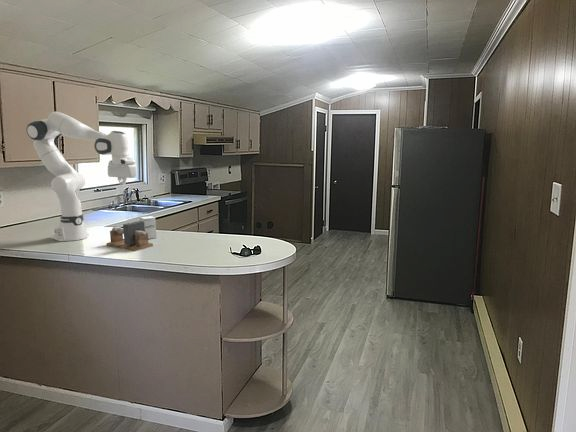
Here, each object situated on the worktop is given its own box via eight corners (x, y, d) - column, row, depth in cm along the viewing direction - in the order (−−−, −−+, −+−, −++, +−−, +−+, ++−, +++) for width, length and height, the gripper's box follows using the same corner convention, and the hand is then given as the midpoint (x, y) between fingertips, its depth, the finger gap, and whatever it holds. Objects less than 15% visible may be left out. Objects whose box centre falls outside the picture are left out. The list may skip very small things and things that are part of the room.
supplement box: (144, 239, 269) (143, 218, 267) (140, 237, 275) (139, 217, 273) (157, 238, 273) (155, 217, 271) (152, 236, 279) (151, 215, 277)
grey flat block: (124, 244, 248) (122, 224, 247) (140, 240, 258) (139, 220, 256) (129, 245, 246) (127, 225, 244) (145, 240, 256) (144, 221, 254)
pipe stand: (106, 245, 256) (105, 229, 255) (124, 241, 266) (122, 225, 265) (135, 250, 244) (134, 233, 242) (153, 246, 254) (151, 229, 252)
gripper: (103, 160, 258) (105, 185, 260) (128, 161, 247) (130, 186, 250) (113, 160, 263) (115, 184, 265) (137, 160, 252) (139, 185, 255)
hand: (122, 185), depth 257 cm, fingers closed
